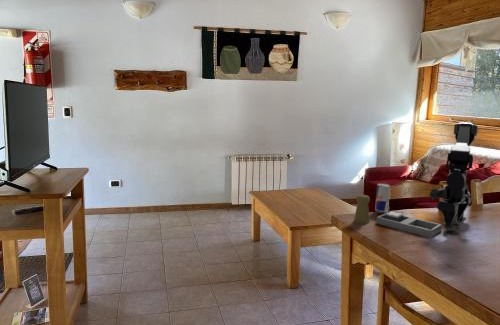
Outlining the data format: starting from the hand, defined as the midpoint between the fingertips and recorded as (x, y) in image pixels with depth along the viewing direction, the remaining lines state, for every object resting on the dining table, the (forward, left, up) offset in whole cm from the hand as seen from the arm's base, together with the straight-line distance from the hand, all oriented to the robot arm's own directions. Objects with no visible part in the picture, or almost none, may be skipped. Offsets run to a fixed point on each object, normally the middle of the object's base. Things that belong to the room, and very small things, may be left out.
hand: (452, 224), depth 154 cm
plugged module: (+6, -20, -3) cm, 21 cm away
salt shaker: (0, 0, -4) cm, 4 cm away
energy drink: (-6, -31, -4) cm, 32 cm away
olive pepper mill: (+13, -30, -4) cm, 33 cm away
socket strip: (+6, -14, -4) cm, 16 cm away
